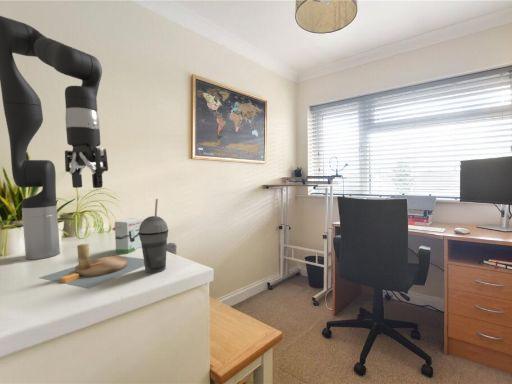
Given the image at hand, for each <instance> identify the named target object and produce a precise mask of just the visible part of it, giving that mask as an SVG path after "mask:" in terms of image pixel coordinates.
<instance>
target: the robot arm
mask: <svg viewBox="0 0 512 384" xmlns="http://www.w3.org/2000/svg"><path fill="white" fill-rule="evenodd" d="M13 54H16V55H21V56H24V57H35V58H38V60H40V61H41V62H42V63H44V64H46V65H48V66H50V67H51V68H54V70H55V71H56V72H58V73H60V74H62V75H65V76H67V77H71V78H75V79H78V80H80V81H82V82H81V85H69V86H67V87H65V89H64V100H65V118H64V119H65V131H66V142H67V145H69V146H71V147H72V150H69V149H68V150H65V151H64V162H65V163H64V165H65V166H64V168H65V169H64V170H65V172H66V173H69V174H70V175H71V182H72V187H73V188H75V189H78V188H82V187H83V180H82V179H83V175H82V171H83V170H84V169H85V168H86V167H87V168H88V169H90V171H91V173H92V174H91V177H92V181H91V182H92V188H93V189H101V188H103V183H104V182H103V174H104V172H108V170H109V164H108V163H109V162H108V156H107V149H106V148H101V147H100V146H101V130H100V119H99V114H98V103H97V97H98V92H99V86H100V83H101V79H102V74H103V68H102V65H101V63H100V61H99V60H98V58H97V57H95V55H92V54H89V53H86V52H84V51H81V50H79V49H76V48H75V47H72V46H69V45H67V44H64V43H63V42H60V41H57V40H55V39H53V38H49V37H46V36H45V35H44V34H42V33H41V32H40V31H39V30H37V29H36V28H34V27H33V26H31V25H29V24H28V23H24V22H21V21H18V20H15V19H12V18H9V17H5V16H3V15H0V89H1V90H0V91H1V98H2V106H3V107H2V108H3V111H4V117H5V122H6V126H7V133H8V138H9V149H10V162H11V165H10V166H11V174H12V179H13V181H14V184H15V185H16V186H17V187H19V188H42V189H41V191H40V192H38V193H36V194H34V195H32V196H28V197H26V198H23V199H22V200H21V203H20V204H21V215H22V217H21V218H22V226H23V227H22V228H23V238H24V239H23V241H24V253H25V260H40V259H46V258H51V257H54V256H58V255H60V253H61V248H60V234H59V233H60V232H59V223H58V222H59V217H58V207H57V189H56V181H57V180H56V179H57V176H56V173H57V172H56V167H55V164H54V163H53V161H51V160H49V159H27V151H28V147H29V145H30V143H31V141H32V139H33V138H34V137H35V135H36V134H37V133H38V131H39V130H40V128H41V127H42V124H43V123H44V122H43V121H44V116H43V115H44V114H43V109H42V101H41V99H40V97H39V95H38V94H37V93H36V91H35V90H34V89H33V87H32V86H31V85H30V84H29V82H28V81H27V79H26V78H24V76H23V75H22V73H21V72H20V70H19V69H18V66H17V64H16V62H15V59H14V56H13ZM70 166H71V167H70Z"/></svg>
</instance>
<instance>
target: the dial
mask: <svg viewBox="0 0 512 384" xmlns="http://www.w3.org/2000/svg"><path fill="white" fill-rule="evenodd" d="M76 249H77V261H78V264H79V265H78V264H77V265H75V266H76V267H75V266H74V267H75V272H76V274H79V276H80V277H94V276H101V275H106V274H110V273H114V272H117V271H119V270H122V269H124V268H125V267H126V266H127V258H125V257H126V256H125V257H121V256H122V255H117V256H112V257H107V256H104V257H98V258H94V259H90V258H91V257H90V256H91V255H90V245H89V243H82V244H79V245H77V246H76Z"/></svg>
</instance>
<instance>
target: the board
mask: <svg viewBox="0 0 512 384" xmlns="http://www.w3.org/2000/svg"><path fill="white" fill-rule="evenodd" d="M112 256H118V255H116V254H111V255H108V256H106V257H112ZM120 256H121V257H125V258H127V266H126V267H125V268H124V269H122V270H119V271H117V272H114V273H110V274H106V275H101V276H94V277H80V276H79V274H76V272H75V267H76V266H77V265H79V263H78V264H77V265H75V266H72V267H69V268H66V269H61V270H59V271H57V272H53V273H50V274H47V275H46V274H45V275H43V276H40V277H39V279H43V280H48V281H52V282H57V283H61V284H67V285H70V286H75V287H79V288H84V289H91V288H93V287H96V286H98V285H101V284H103V283H106V282H109V281H110V280H113V279H116V278H119V277H121V276H124V275H126V274H128V273H131V272H133V271H136V270H138V269H140V268H143V267H145V264H144V258H139V257H132V256H126V255H125V256H123V255H120Z"/></svg>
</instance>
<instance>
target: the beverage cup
mask: <svg viewBox="0 0 512 384" xmlns="http://www.w3.org/2000/svg"><path fill="white" fill-rule="evenodd" d="M158 201H159V198H156V199H155V204H154V205H155V207H154V215H153V216H148V217H146V218H144V219H143V222H142V223H141V225H140V227H139V233H138V234H139V237H140V241H141V244H142V248H141V249H142V255H143V257H142V258H143V259H144V264H145V266H144V269H145V273H147V274H157V273H161V272H164V271H165V270H166V268H167V267H166V266H167V243H168V237H169V236H168V235H169V228H168V227H169V226H168V224H167V222H166V221H165V219H164V218H162V217H160V216H157V215H158Z"/></svg>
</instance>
